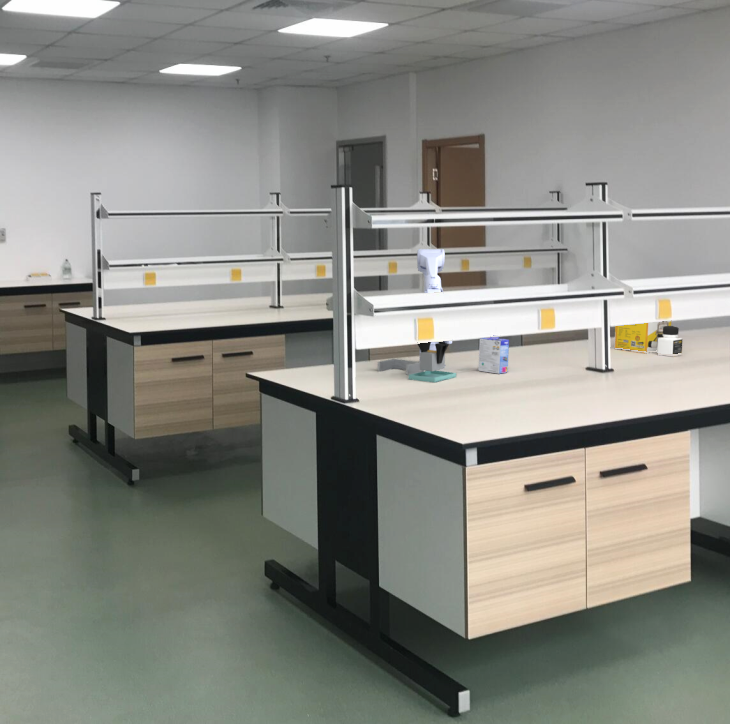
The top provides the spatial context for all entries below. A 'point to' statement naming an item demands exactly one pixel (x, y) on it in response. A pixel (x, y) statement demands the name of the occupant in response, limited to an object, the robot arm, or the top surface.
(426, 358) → the toner caddy
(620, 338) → the packaging box
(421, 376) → the teal tray
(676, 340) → the medicine bottle
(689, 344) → the top surface
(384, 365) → the printer bay
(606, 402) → the top surface
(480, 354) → the ink cartridge box
